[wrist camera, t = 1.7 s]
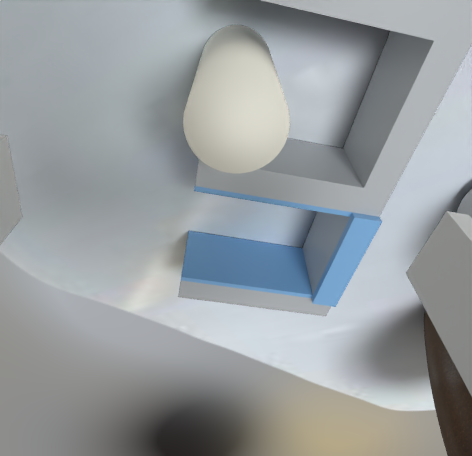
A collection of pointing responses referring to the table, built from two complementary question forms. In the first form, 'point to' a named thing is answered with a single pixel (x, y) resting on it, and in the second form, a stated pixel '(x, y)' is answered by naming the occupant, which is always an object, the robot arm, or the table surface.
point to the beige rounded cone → (236, 103)
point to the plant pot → (448, 395)
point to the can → (466, 204)
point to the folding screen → (335, 166)
